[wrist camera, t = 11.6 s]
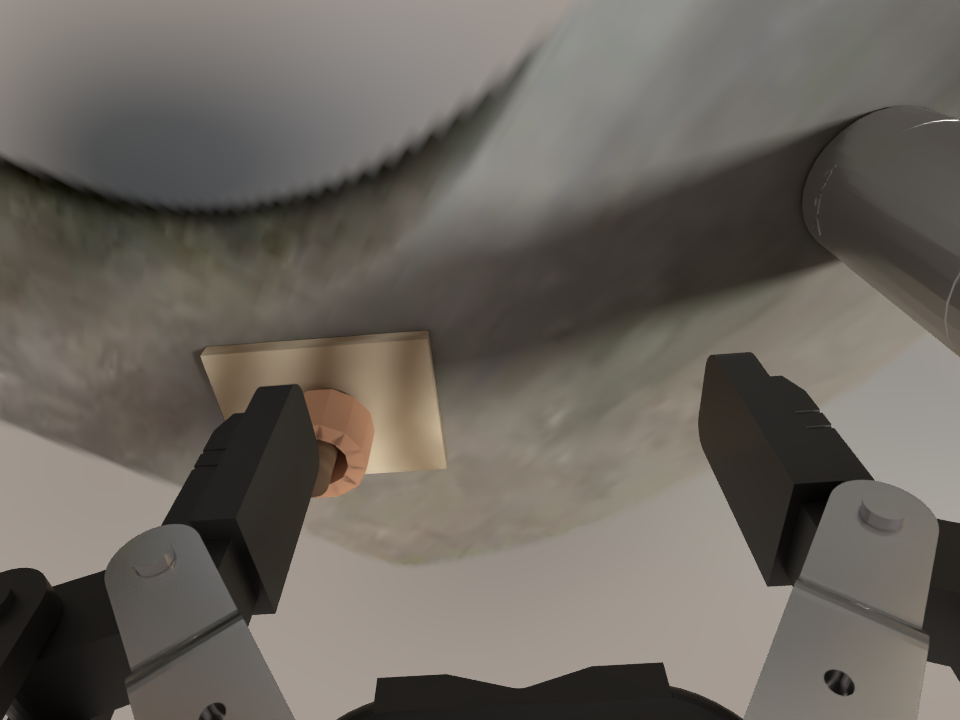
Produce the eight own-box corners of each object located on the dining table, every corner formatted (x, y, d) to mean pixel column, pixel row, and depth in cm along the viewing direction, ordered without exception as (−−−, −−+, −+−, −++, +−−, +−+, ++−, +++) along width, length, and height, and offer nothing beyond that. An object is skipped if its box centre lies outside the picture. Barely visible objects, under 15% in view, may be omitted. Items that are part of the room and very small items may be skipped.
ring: (364, 386, 43) (355, 422, 40) (380, 455, 47) (372, 493, 43) (274, 393, 44) (258, 428, 40) (296, 461, 47) (282, 499, 44)
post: (357, 386, 45) (339, 452, 39) (370, 439, 48) (355, 508, 41) (289, 390, 45) (261, 457, 39) (305, 443, 48) (281, 513, 42)
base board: (428, 330, 44) (427, 338, 43) (447, 458, 50) (446, 468, 49) (206, 347, 44) (200, 355, 43) (252, 471, 51) (248, 481, 50)
